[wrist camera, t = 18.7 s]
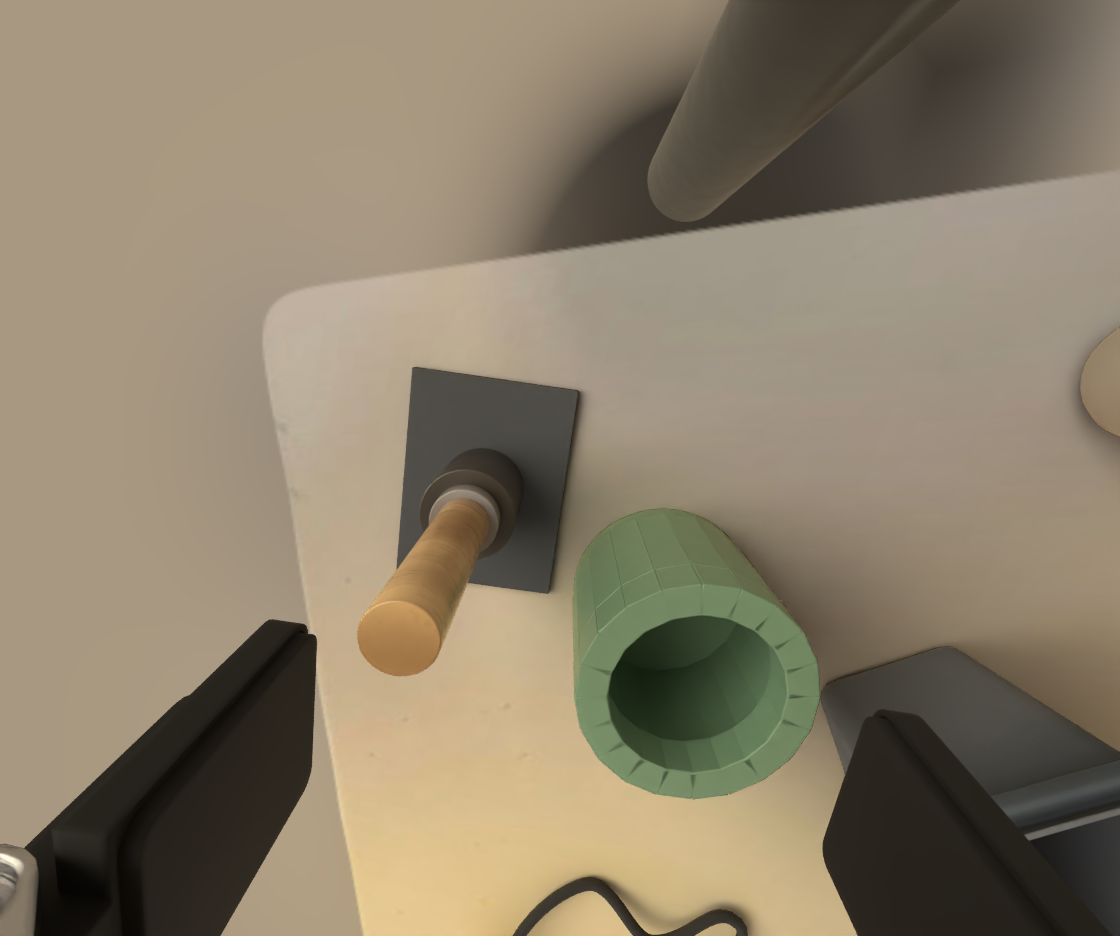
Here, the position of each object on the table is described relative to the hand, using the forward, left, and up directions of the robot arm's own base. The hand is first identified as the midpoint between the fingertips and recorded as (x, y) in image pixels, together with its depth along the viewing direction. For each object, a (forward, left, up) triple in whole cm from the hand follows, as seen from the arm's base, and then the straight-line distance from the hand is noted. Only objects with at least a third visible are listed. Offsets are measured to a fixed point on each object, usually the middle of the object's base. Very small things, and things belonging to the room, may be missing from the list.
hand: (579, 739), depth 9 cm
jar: (+7, +6, -23) cm, 25 cm away
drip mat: (+2, -5, -23) cm, 23 cm away
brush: (+2, -5, -22) cm, 23 cm away
